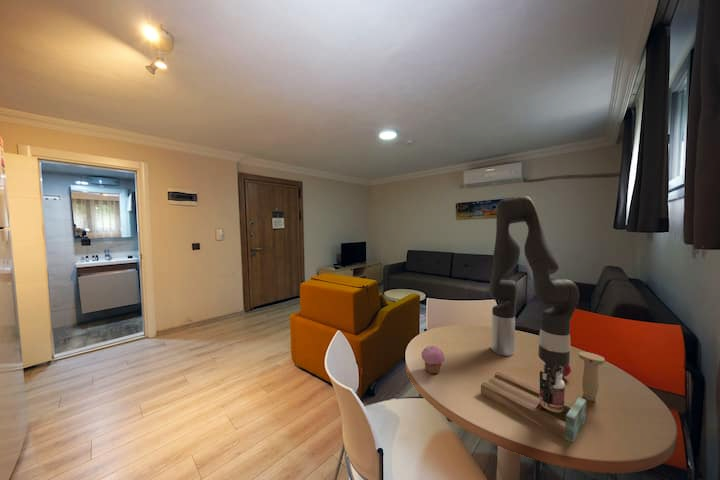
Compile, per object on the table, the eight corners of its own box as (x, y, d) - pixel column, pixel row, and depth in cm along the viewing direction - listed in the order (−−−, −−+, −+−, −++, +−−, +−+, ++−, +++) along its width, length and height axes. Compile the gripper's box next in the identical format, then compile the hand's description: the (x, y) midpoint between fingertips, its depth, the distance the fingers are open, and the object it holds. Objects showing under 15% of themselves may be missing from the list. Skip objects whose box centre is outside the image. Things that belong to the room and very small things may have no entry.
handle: (601, 406, 85) (604, 362, 84) (576, 397, 90) (578, 355, 89) (602, 399, 89) (605, 356, 88) (577, 390, 93) (579, 350, 92)
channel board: (497, 380, 100) (497, 362, 99) (585, 421, 79) (586, 399, 79) (480, 393, 93) (481, 374, 92) (572, 442, 72) (573, 418, 72)
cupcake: (438, 364, 112) (438, 341, 111) (448, 376, 103) (448, 352, 102) (418, 366, 110) (418, 343, 110) (426, 378, 102) (426, 353, 101)
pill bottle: (567, 407, 80) (569, 373, 79) (558, 416, 77) (560, 380, 76) (544, 396, 85) (545, 363, 84) (535, 404, 82) (536, 370, 81)
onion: (567, 374, 103) (568, 354, 102) (572, 382, 98) (573, 362, 97) (549, 371, 105) (550, 351, 105) (553, 379, 100) (554, 359, 99)
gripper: (548, 334, 86) (546, 382, 88) (530, 347, 78) (528, 401, 79) (577, 342, 80) (574, 394, 82) (560, 358, 72) (558, 416, 73)
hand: (551, 397), depth 81 cm, fingers closed on pill bottle, 6 cm apart
